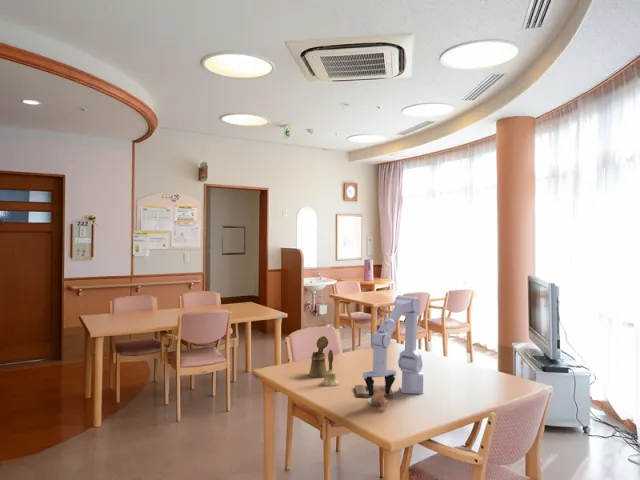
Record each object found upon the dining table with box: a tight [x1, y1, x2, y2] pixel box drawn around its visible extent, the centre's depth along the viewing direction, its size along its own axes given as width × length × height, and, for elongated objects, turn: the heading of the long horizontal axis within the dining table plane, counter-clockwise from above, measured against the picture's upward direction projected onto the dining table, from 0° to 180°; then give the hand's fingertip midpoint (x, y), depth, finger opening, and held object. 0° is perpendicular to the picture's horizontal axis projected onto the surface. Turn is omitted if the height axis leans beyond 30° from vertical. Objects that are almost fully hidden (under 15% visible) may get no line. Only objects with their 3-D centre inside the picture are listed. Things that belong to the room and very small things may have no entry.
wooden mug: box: [309, 335, 329, 379], centre depth 229 cm, size 9×14×18 cm, turn 163°
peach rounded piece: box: [370, 386, 389, 409], centre depth 185 cm, size 9×5×6 cm, turn 22°
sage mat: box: [366, 397, 372, 405], centre depth 191 cm, size 9×9×1 cm
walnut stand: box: [354, 384, 395, 399], centre depth 202 cm, size 16×12×2 cm
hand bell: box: [321, 349, 340, 387], centre depth 214 cm, size 8×8×16 cm
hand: (378, 394), depth 187 cm, fingers open, 7 cm apart
